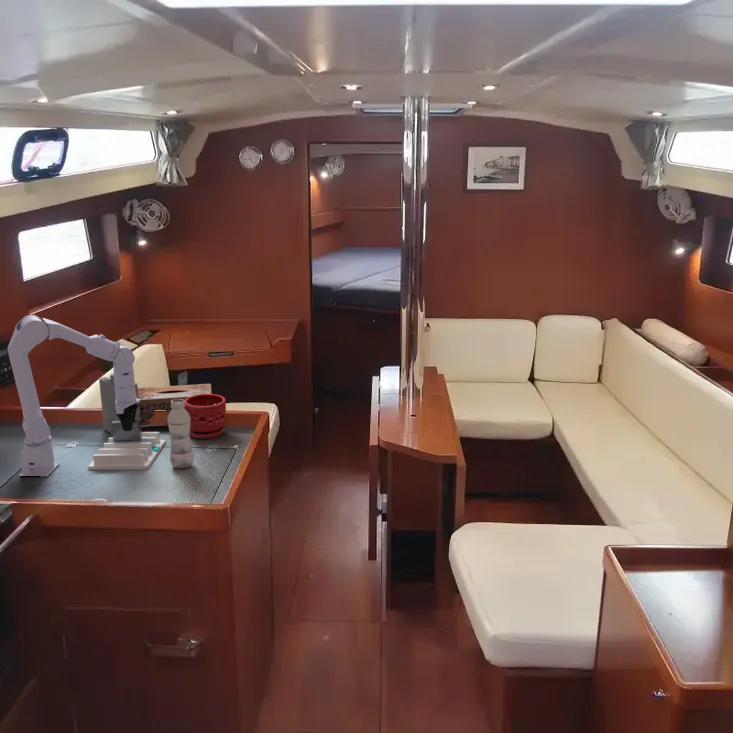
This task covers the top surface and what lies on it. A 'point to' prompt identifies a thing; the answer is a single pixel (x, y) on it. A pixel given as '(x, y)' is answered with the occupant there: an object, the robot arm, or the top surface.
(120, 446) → the slot rack
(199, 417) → the plant pot
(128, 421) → the robot arm
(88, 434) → the top surface
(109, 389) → the hip flask
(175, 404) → the plastic bottle
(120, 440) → the rectangular block
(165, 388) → the tissue box cover
